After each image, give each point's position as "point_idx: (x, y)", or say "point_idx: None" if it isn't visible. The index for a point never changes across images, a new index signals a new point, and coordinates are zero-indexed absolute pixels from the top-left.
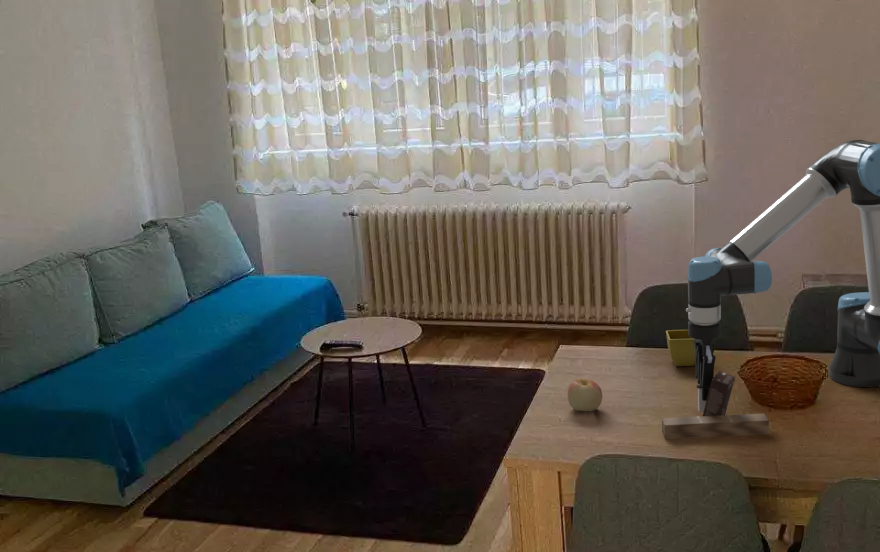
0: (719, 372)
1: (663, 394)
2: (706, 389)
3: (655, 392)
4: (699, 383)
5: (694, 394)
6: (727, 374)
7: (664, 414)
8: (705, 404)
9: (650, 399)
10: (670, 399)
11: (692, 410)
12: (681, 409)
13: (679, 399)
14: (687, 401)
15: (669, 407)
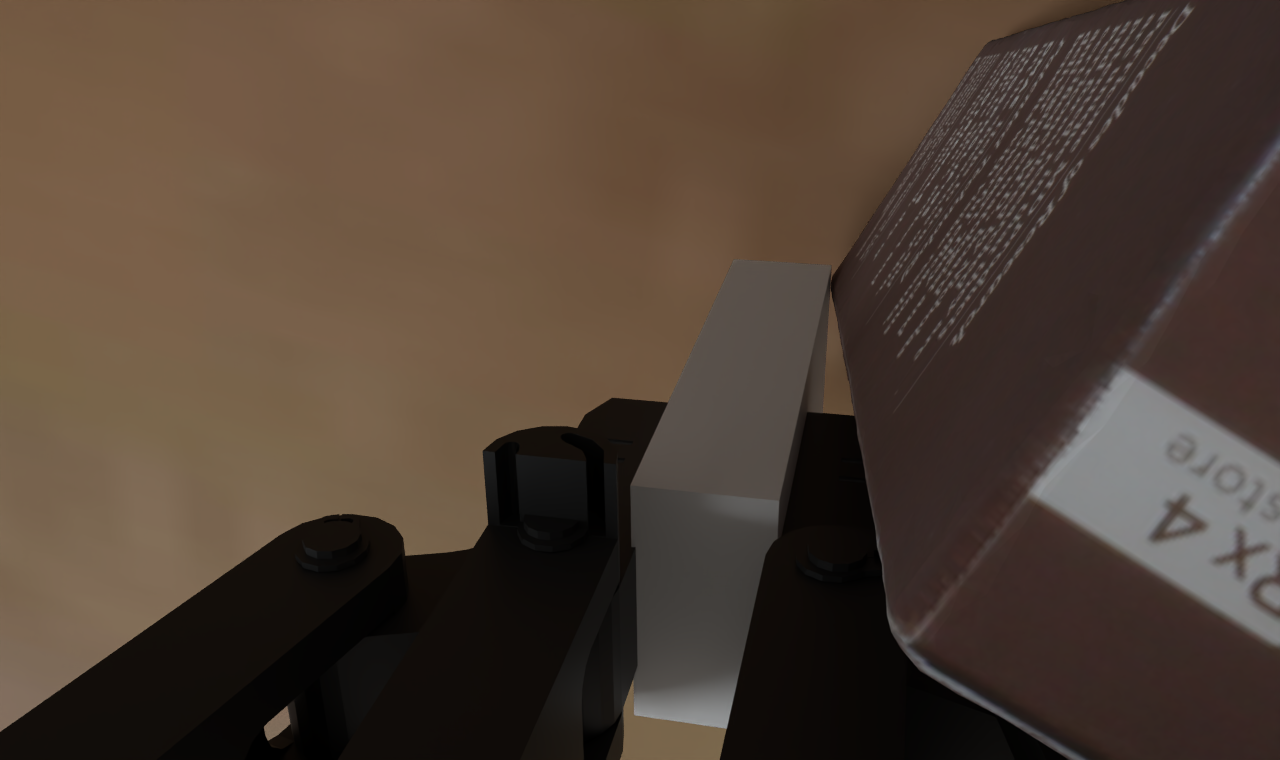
0: (1081, 704)
1: (64, 583)
2: None
3: (18, 643)
4: (622, 718)
5: (15, 225)
6: (1247, 323)
7: (661, 750)
8: (814, 398)
9: None
10: (205, 556)
11: (565, 407)
12: None
13: (198, 458)
14: (258, 382)
15: None
